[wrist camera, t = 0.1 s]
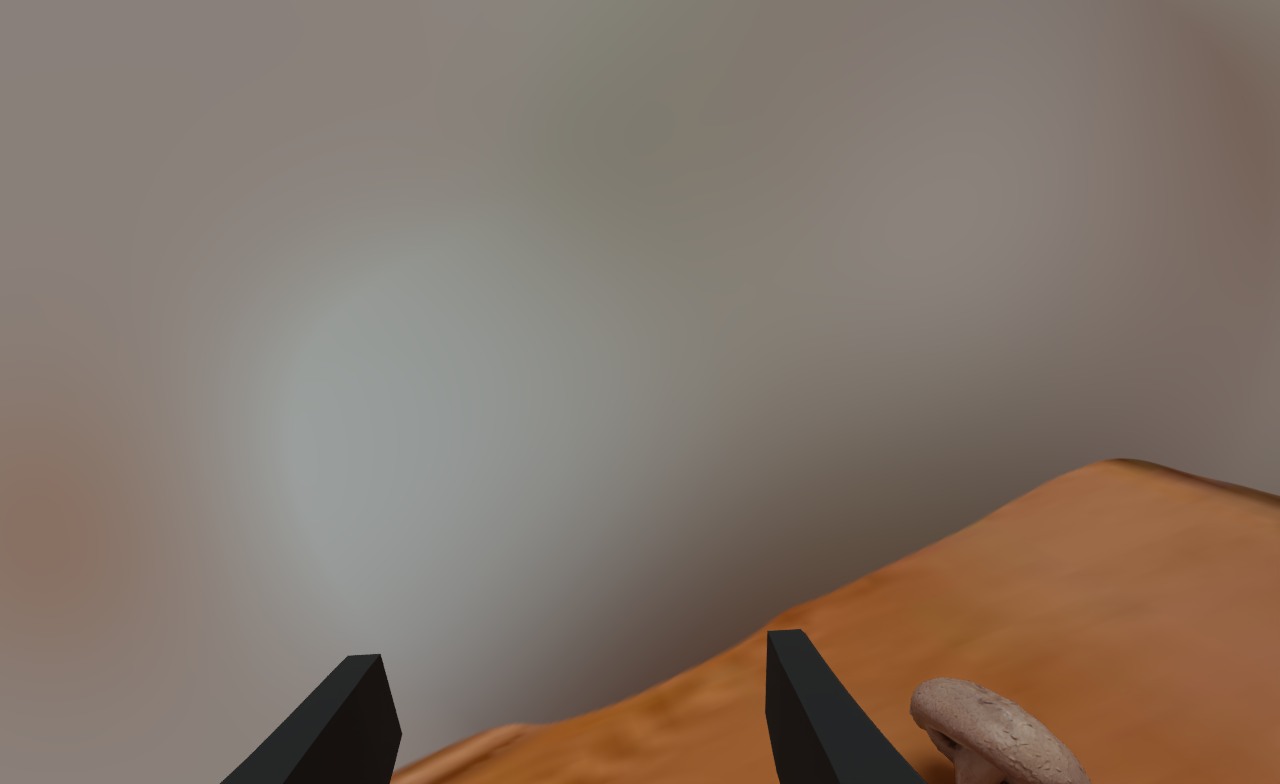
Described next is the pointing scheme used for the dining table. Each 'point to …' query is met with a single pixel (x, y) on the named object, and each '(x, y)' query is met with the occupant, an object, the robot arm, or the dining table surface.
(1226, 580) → the dining table surface
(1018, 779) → the mushroom
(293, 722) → the robot arm
